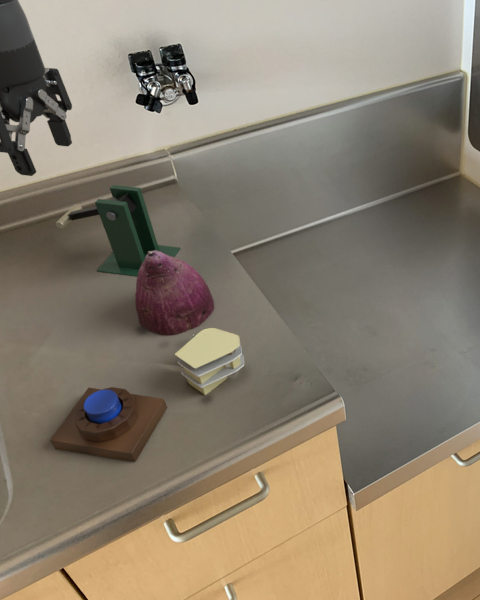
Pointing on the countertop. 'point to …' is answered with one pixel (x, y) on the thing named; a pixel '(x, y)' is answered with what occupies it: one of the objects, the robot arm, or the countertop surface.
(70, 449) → the switch box
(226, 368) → the yellow layered block
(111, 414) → the button
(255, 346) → the countertop surface
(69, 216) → the lever
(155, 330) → the vegetable
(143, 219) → the switch bracket
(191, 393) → the countertop surface
